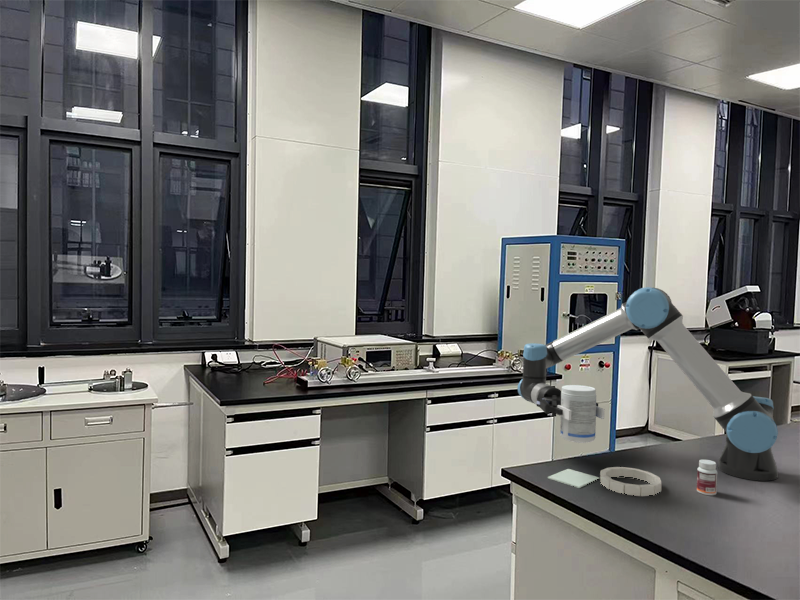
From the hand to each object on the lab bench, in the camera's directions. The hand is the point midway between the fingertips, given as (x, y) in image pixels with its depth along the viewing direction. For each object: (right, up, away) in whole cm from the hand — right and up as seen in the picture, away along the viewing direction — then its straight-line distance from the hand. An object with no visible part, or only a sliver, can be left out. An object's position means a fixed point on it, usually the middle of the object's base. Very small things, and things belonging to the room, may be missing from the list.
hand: (586, 414), depth 156 cm
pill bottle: (+31, -20, -4) cm, 37 cm away
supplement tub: (-1, -8, +5) cm, 9 cm away
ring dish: (+12, -20, +1) cm, 23 cm away
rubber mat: (-2, -19, +5) cm, 20 cm away
